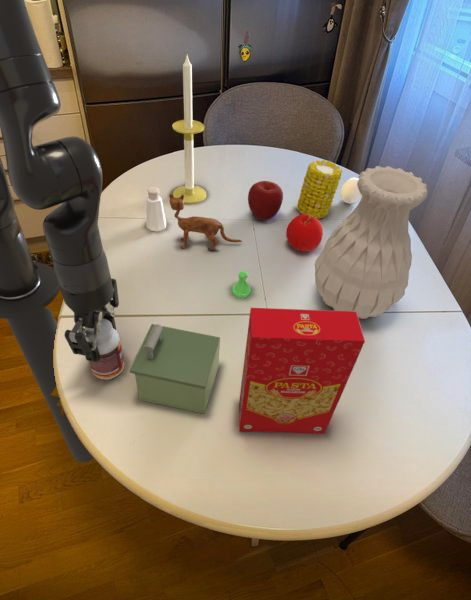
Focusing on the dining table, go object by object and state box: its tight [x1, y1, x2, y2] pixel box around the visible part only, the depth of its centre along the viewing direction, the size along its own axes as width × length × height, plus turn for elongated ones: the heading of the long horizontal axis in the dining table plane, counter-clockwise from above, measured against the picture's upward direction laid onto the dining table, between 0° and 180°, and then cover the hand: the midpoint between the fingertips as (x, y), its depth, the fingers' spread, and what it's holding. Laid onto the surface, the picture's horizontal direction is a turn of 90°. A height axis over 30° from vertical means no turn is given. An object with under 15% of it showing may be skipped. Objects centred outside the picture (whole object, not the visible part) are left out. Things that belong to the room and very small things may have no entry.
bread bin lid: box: [129, 323, 221, 389], centre depth 70 cm, size 13×11×4 cm
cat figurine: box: [169, 193, 243, 251], centre depth 103 cm, size 18×7×14 cm, turn 92°
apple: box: [247, 180, 284, 221], centre depth 115 cm, size 10×10×10 cm
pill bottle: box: [84, 319, 126, 380], centre depth 75 cm, size 6×6×11 cm
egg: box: [340, 177, 362, 205], centre depth 124 cm, size 6×6×8 cm
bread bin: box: [134, 341, 221, 415], centre depth 75 cm, size 12×11×8 cm
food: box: [296, 159, 343, 220], centre depth 117 cm, size 15×12×10 cm
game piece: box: [232, 270, 251, 299], centre depth 94 cm, size 4×4×6 cm
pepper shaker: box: [145, 186, 167, 233], centre depth 108 cm, size 5×5×11 cm
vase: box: [314, 165, 429, 320], centre depth 85 cm, size 20×20×30 cm
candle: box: [171, 55, 208, 205], centre depth 111 cm, size 10×10×38 cm
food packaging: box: [238, 307, 366, 435], centre depth 64 cm, size 15×5×25 cm, turn 90°
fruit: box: [285, 213, 324, 252], centre depth 106 cm, size 9×9×10 cm
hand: (102, 344), depth 74 cm, fingers closed on pill bottle, 6 cm apart
